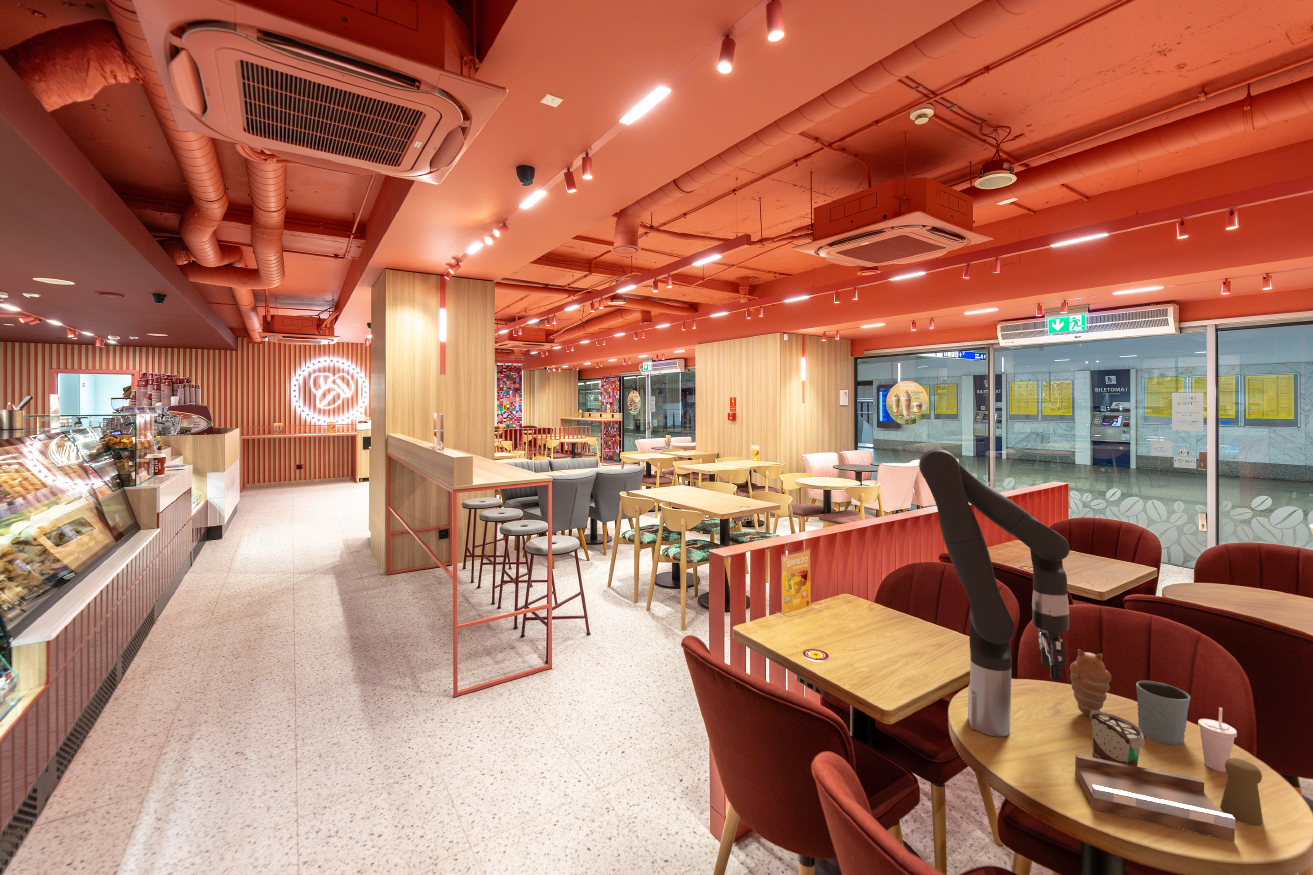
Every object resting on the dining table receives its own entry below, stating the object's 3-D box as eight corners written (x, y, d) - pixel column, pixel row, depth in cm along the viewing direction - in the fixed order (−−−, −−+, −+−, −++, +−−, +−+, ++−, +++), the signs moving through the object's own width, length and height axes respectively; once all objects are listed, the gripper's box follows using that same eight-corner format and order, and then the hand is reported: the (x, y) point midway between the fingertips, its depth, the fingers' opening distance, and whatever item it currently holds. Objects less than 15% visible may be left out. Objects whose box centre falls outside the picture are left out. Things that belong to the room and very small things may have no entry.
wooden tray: (1094, 810, 113) (1094, 789, 113) (1075, 773, 125) (1075, 754, 125) (1235, 842, 105) (1236, 819, 104) (1200, 799, 116) (1201, 779, 116)
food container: (1158, 782, 122) (1160, 739, 121) (1131, 782, 122) (1132, 739, 121) (1113, 749, 134) (1114, 709, 133) (1088, 749, 134) (1089, 709, 134)
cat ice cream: (1068, 716, 148) (1070, 651, 148) (1068, 704, 155) (1070, 642, 154) (1110, 727, 143) (1112, 660, 142) (1108, 714, 149) (1110, 650, 149)
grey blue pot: (1130, 733, 141) (1131, 687, 140) (1140, 719, 147) (1141, 676, 146) (1184, 752, 133) (1186, 704, 132) (1192, 737, 139) (1194, 691, 138)
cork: (1211, 804, 115) (1213, 754, 114) (1237, 803, 115) (1239, 752, 115) (1245, 826, 109) (1247, 772, 108) (1272, 824, 109) (1274, 771, 109)
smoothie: (1243, 776, 123) (1246, 716, 123) (1210, 773, 125) (1212, 713, 124) (1220, 759, 130) (1222, 702, 129) (1189, 756, 131) (1191, 699, 130)
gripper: (1026, 598, 145) (1027, 658, 146) (1039, 617, 132) (1040, 682, 133) (1060, 601, 142) (1061, 662, 143) (1077, 620, 129) (1078, 687, 130)
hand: (1051, 672), depth 138 cm, fingers open, 8 cm apart
